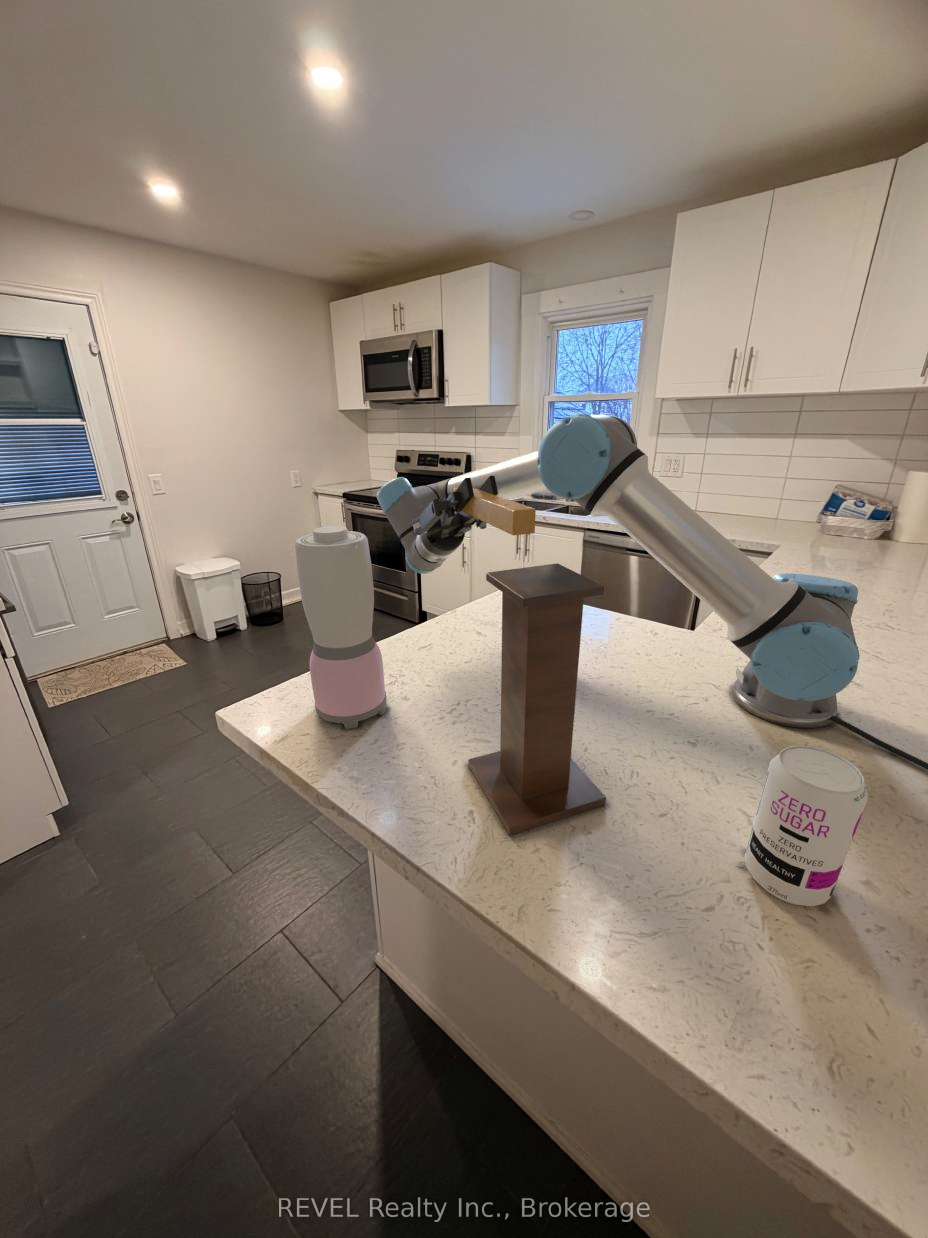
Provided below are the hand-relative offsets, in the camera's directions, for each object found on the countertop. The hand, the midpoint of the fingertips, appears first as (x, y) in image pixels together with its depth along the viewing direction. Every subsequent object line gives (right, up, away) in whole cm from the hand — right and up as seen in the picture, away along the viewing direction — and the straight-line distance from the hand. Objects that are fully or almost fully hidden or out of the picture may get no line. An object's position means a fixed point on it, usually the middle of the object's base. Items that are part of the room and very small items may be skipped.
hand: (481, 485), depth 70 cm
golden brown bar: (+1, -5, 0) cm, 5 cm away
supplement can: (+33, -48, -15) cm, 60 cm away
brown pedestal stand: (+7, -42, -1) cm, 43 cm away
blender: (-23, -35, +18) cm, 46 cm away
